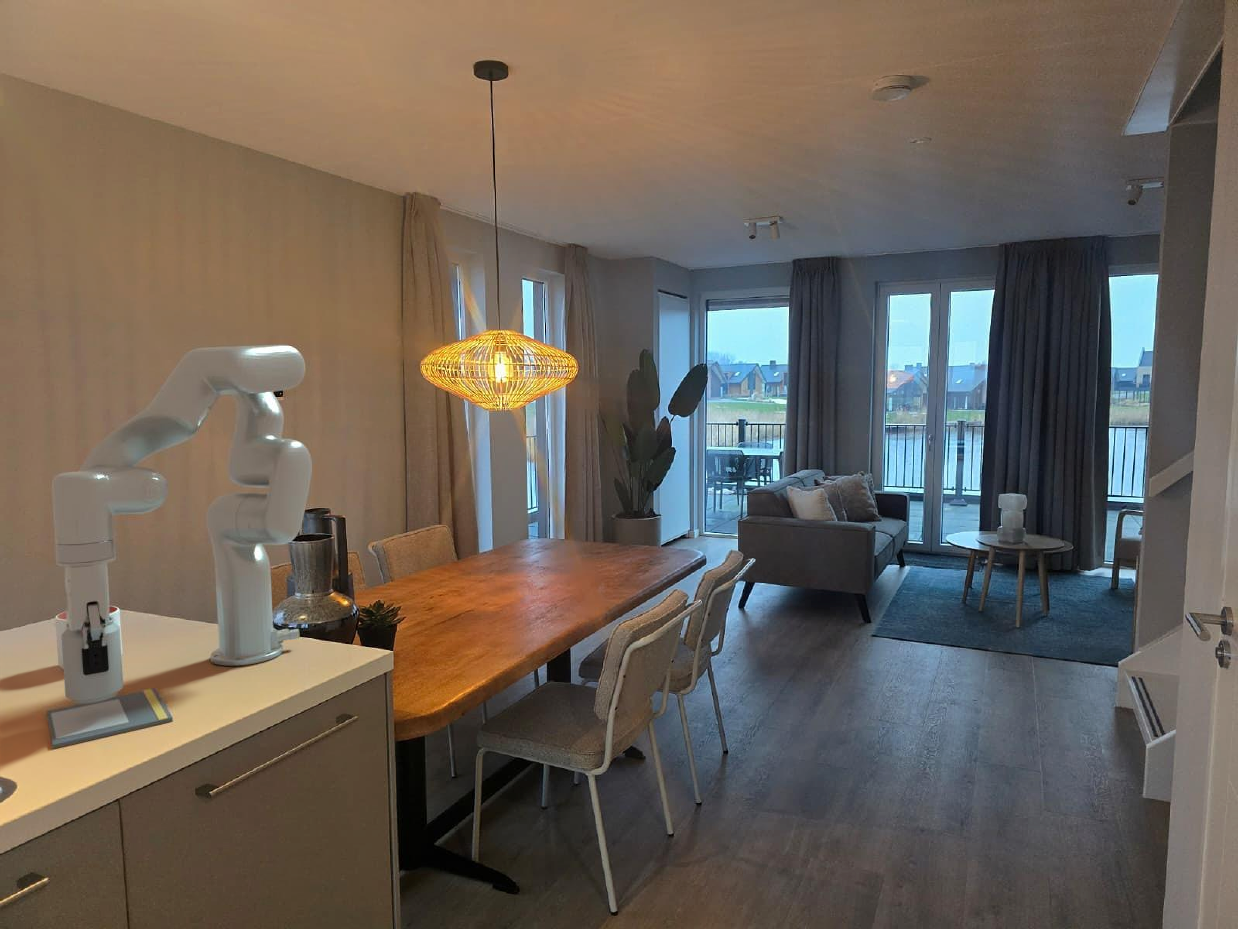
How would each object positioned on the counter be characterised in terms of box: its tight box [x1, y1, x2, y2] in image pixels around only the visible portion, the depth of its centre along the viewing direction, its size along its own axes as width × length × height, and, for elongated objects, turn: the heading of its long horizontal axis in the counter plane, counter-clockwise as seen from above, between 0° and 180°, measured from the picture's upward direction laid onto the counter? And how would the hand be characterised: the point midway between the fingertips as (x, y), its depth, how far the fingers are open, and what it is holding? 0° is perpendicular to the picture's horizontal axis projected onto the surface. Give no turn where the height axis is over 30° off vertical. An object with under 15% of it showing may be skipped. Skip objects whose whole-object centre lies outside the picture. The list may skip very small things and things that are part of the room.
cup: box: [54, 605, 123, 670], centre depth 148 cm, size 10×10×10 cm
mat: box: [45, 688, 174, 749], centre depth 123 cm, size 15×16×1 cm
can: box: [61, 616, 124, 704], centre depth 121 cm, size 8×8×12 cm
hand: (93, 665), depth 121 cm, fingers closed on can, 7 cm apart
